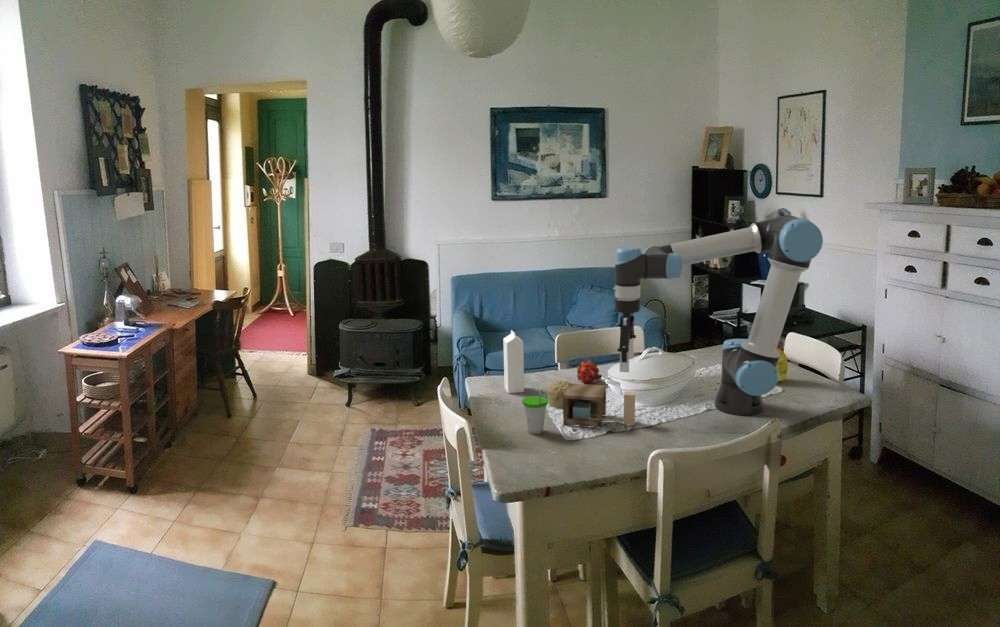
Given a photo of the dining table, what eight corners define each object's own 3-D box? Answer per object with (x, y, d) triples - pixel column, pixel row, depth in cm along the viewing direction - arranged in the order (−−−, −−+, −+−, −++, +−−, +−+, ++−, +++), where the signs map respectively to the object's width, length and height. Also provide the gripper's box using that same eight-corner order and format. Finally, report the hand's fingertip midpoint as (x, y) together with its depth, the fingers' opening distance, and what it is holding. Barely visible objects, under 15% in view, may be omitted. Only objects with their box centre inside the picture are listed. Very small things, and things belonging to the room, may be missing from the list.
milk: (520, 386, 256) (519, 328, 251) (524, 392, 250) (523, 332, 245) (504, 388, 254) (503, 330, 249) (507, 393, 249) (506, 334, 244)
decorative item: (562, 419, 234) (580, 397, 231) (539, 401, 234) (557, 379, 231) (565, 409, 243) (582, 388, 240) (543, 392, 243) (560, 371, 240)
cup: (522, 427, 219) (521, 381, 215) (547, 426, 218) (547, 381, 215) (522, 437, 211) (521, 390, 208) (548, 436, 211) (548, 389, 207)
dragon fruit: (585, 380, 266) (593, 394, 255) (568, 369, 263) (575, 384, 252) (599, 363, 264) (607, 377, 253) (582, 352, 261) (590, 366, 250)
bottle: (760, 385, 250) (764, 332, 246) (751, 380, 256) (754, 327, 252) (790, 382, 253) (794, 329, 248) (779, 377, 259) (783, 325, 254)
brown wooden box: (605, 414, 227) (606, 385, 225) (601, 428, 216) (601, 397, 214) (569, 412, 230) (569, 383, 228) (563, 425, 219) (563, 395, 217)
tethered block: (634, 420, 222) (635, 390, 219) (633, 426, 217) (634, 396, 215) (575, 416, 226) (575, 387, 224) (572, 421, 222) (572, 392, 219)
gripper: (619, 289, 224) (619, 353, 229) (609, 306, 201) (609, 376, 206) (643, 290, 222) (642, 354, 227) (636, 307, 199) (635, 378, 204)
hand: (626, 365), depth 216 cm, fingers open, 13 cm apart
